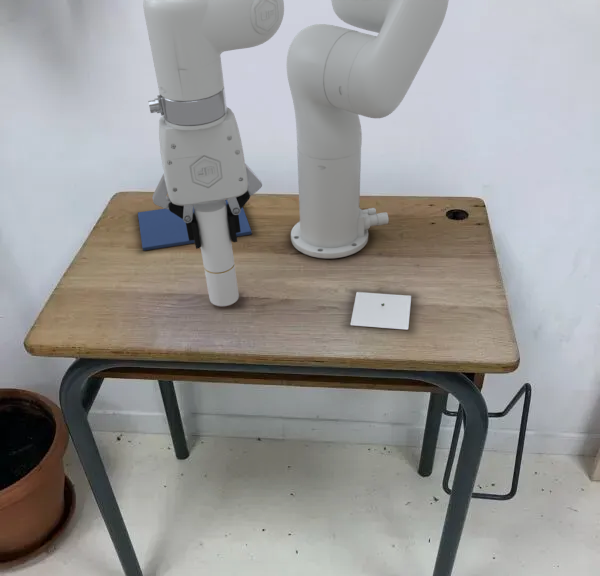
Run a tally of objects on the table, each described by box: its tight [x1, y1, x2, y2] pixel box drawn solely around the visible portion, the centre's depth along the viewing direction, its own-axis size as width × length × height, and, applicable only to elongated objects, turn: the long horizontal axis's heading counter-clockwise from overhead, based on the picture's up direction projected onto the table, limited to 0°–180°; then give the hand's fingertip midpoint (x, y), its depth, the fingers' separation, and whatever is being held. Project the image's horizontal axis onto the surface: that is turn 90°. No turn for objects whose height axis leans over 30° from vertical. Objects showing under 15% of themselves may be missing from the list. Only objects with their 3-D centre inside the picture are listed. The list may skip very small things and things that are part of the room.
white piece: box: [350, 291, 412, 331], centre depth 98 cm, size 8×8×1 cm
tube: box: [193, 199, 240, 307], centre depth 96 cm, size 4×4×15 cm
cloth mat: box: [137, 199, 253, 251], centre depth 118 cm, size 18×12×1 cm, turn 103°
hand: (215, 239), depth 94 cm, fingers closed on tube, 4 cm apart
